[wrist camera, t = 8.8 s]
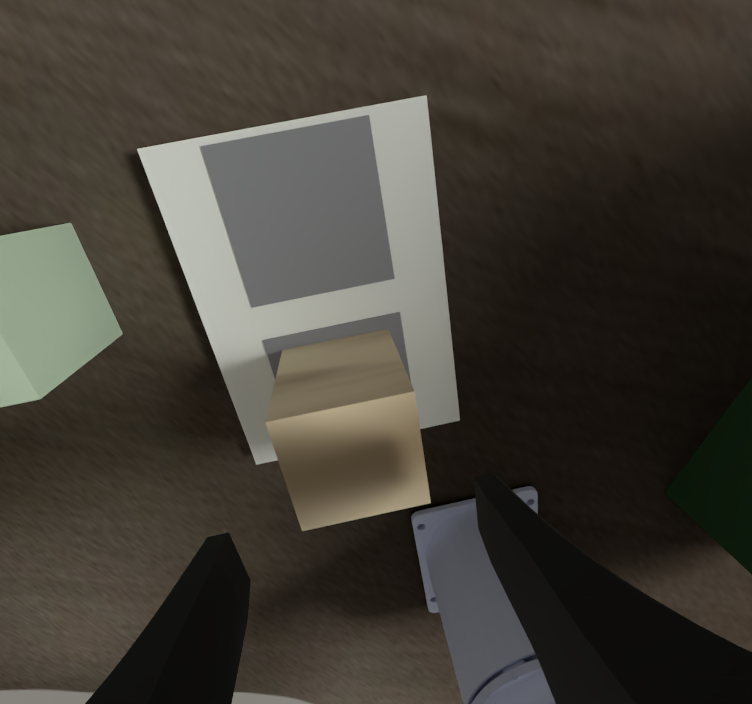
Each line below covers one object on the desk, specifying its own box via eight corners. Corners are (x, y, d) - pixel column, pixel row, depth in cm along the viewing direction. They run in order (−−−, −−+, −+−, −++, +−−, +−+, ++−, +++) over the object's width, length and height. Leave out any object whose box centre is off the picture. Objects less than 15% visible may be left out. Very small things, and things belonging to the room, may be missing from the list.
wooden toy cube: (402, 417, 21) (430, 503, 15) (307, 437, 21) (302, 531, 15) (388, 328, 19) (414, 391, 13) (282, 350, 19) (264, 422, 13)
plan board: (454, 410, 22) (460, 421, 21) (259, 452, 22) (255, 466, 21) (420, 99, 16) (427, 94, 15) (147, 150, 16) (135, 148, 15)
